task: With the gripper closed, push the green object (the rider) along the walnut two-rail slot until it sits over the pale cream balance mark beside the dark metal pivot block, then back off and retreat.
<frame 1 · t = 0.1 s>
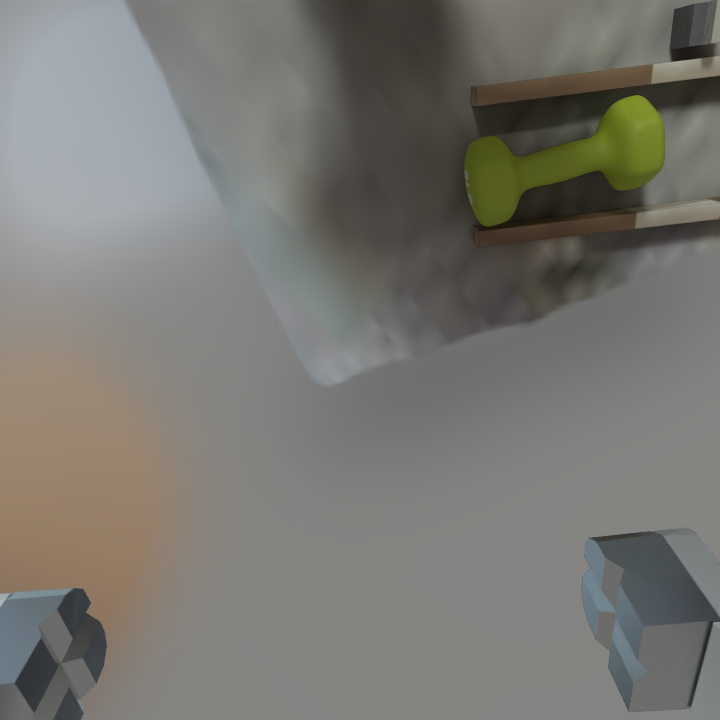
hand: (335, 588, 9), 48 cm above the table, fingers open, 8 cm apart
dumbbell: (544, 159, 51), on the table
beam slot: (609, 152, 51), on the table
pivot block: (689, 27, 46), on the table
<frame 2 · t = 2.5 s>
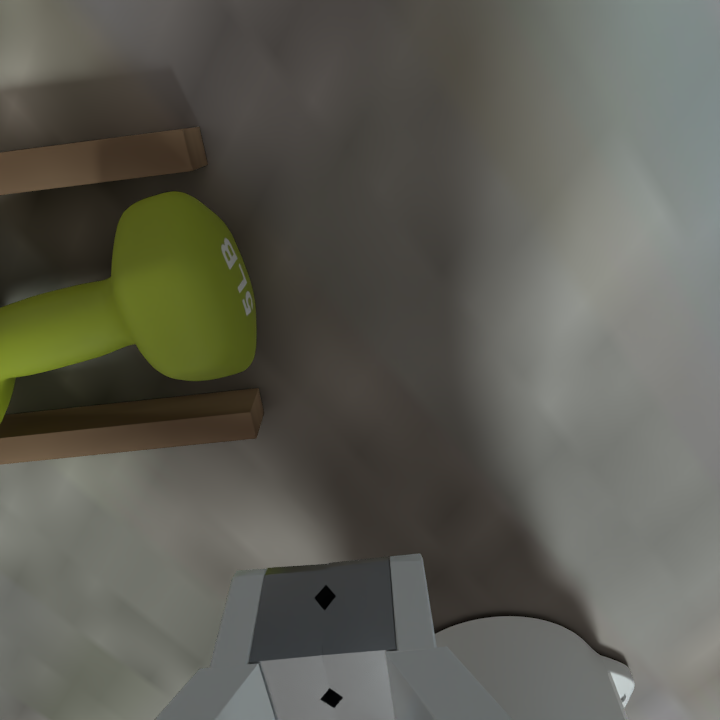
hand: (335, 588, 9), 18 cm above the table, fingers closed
dumbbell: (95, 299, 26), on the table
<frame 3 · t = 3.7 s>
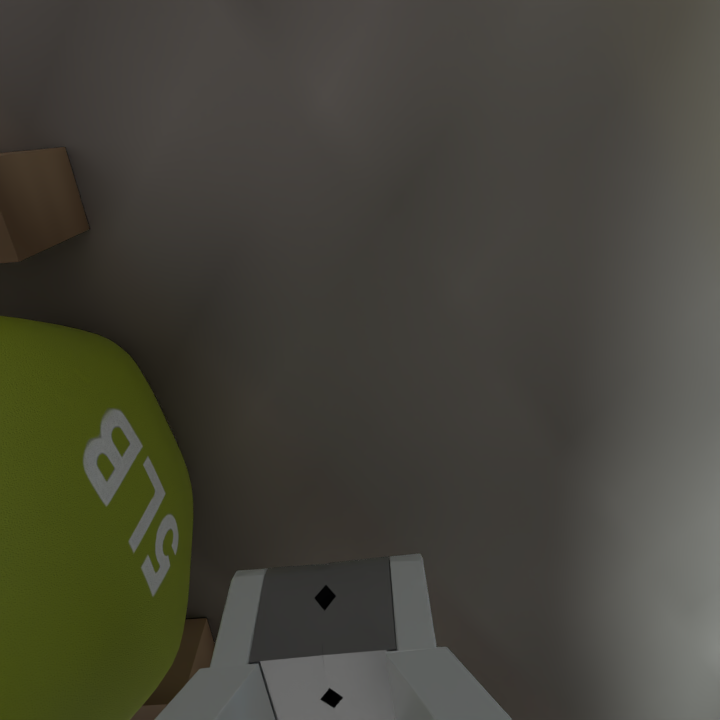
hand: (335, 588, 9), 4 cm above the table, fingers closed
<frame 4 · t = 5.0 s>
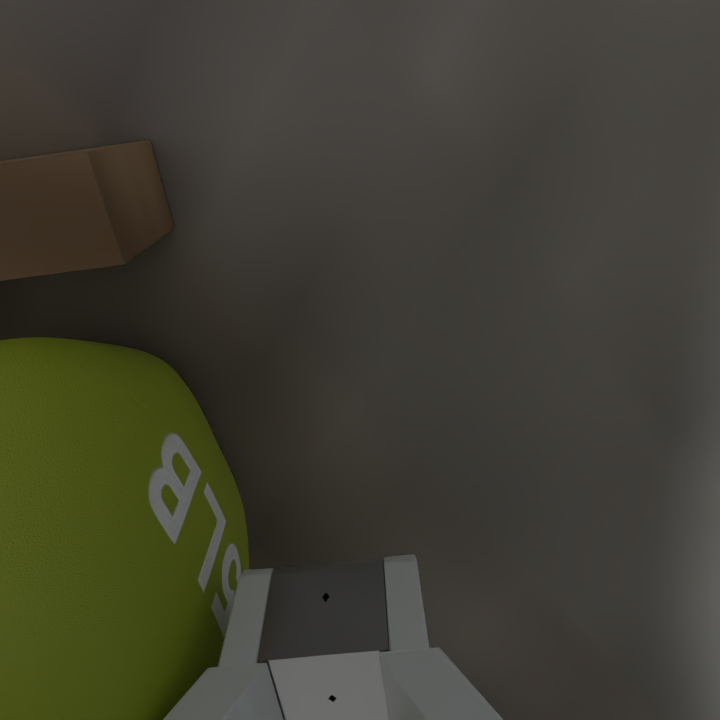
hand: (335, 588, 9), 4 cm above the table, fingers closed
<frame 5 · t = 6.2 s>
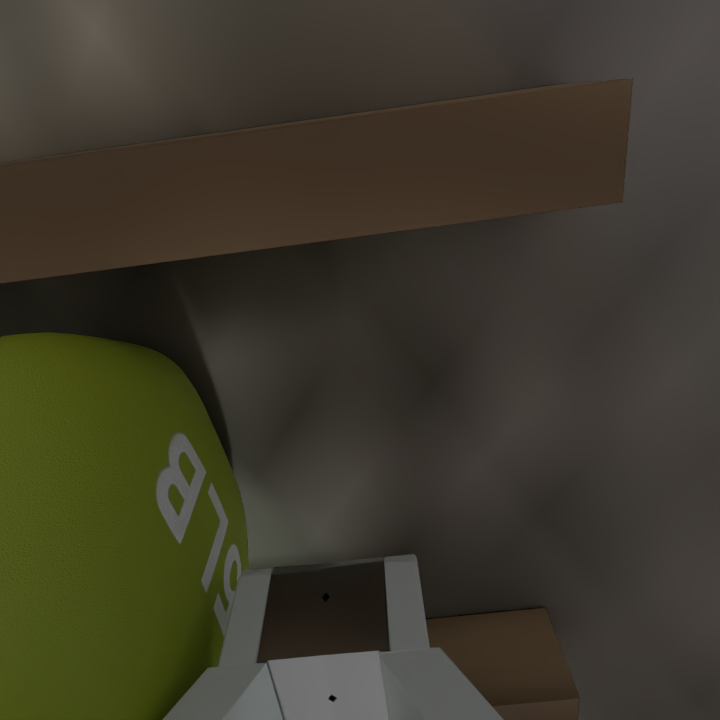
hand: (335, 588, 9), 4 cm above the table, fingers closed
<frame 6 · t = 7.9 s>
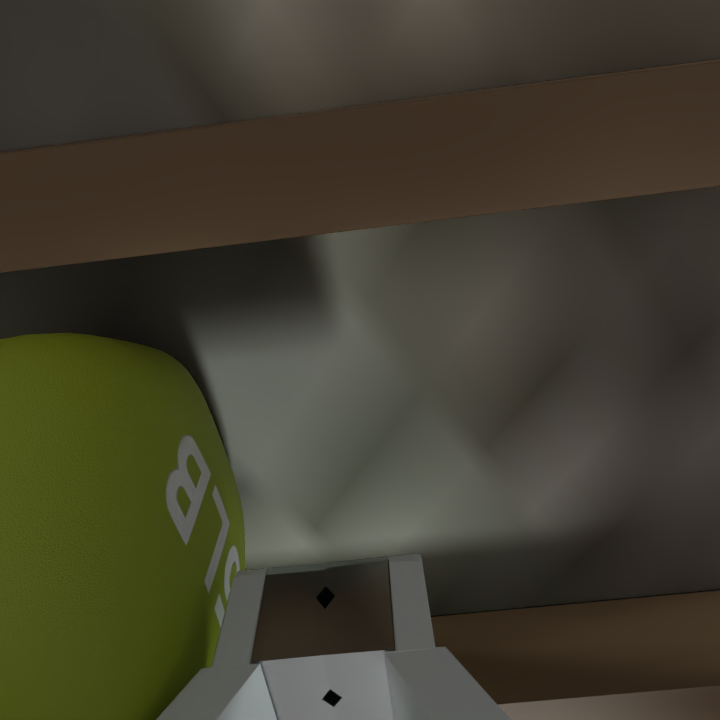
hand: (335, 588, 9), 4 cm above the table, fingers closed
beam slot: (205, 470, 12), on the table
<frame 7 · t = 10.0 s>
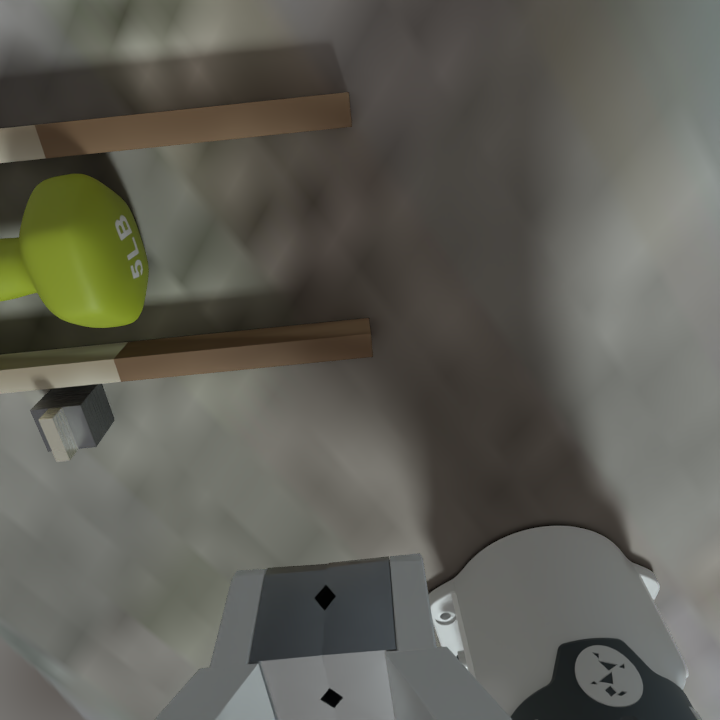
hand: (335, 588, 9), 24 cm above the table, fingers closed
dumbbell: (14, 254, 31), on the table
beam slot: (134, 251, 31), on the table
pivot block: (85, 403, 35), on the table
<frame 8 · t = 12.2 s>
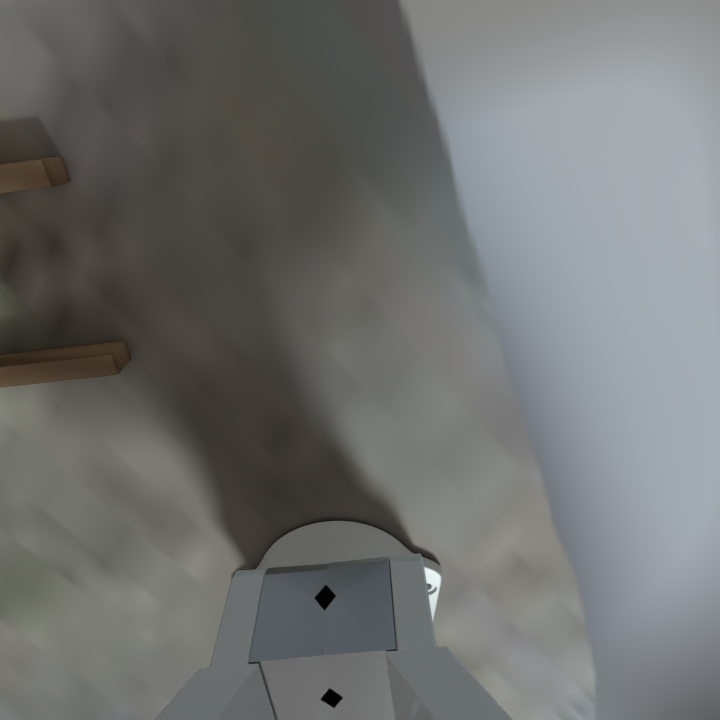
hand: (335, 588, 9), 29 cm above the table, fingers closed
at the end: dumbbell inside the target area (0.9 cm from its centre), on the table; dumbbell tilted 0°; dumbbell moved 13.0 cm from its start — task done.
